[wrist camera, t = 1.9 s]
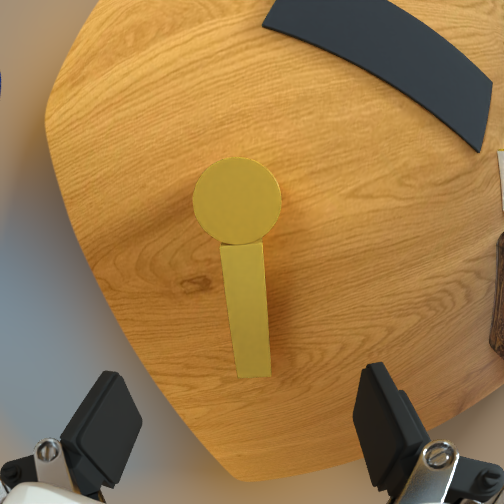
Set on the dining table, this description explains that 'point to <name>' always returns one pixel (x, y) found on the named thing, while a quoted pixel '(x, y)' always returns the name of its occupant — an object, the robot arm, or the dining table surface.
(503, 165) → the medicine bottle
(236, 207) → the yellow disc-ended bar
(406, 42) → the mat
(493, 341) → the book
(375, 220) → the dining table surface
